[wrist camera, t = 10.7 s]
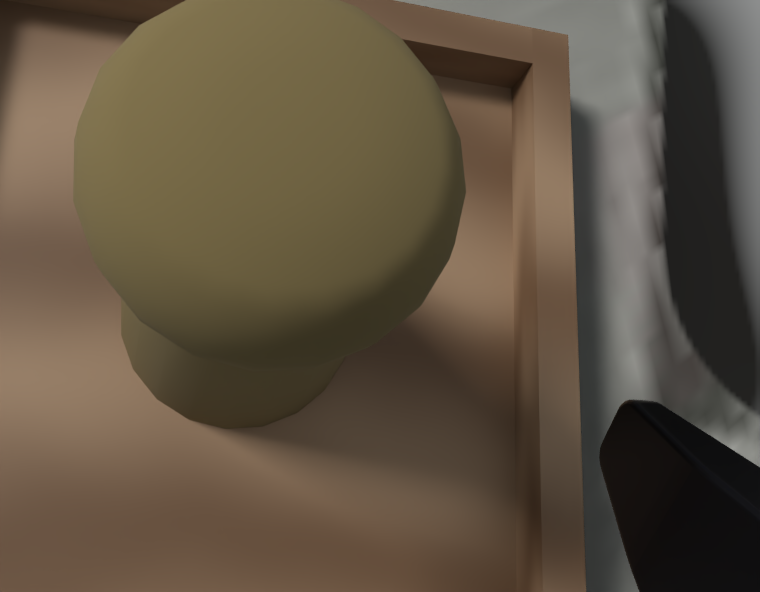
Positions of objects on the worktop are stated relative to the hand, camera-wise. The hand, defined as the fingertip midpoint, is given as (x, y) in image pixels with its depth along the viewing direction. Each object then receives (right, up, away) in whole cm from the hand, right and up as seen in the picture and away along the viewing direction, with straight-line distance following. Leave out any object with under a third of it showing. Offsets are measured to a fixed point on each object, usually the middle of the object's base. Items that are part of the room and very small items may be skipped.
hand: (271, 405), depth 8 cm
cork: (-2, +1, +10) cm, 11 cm away
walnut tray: (-3, +1, +11) cm, 12 cm away
